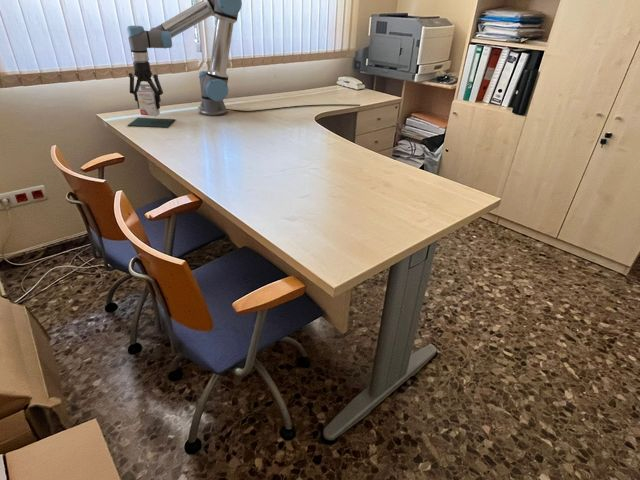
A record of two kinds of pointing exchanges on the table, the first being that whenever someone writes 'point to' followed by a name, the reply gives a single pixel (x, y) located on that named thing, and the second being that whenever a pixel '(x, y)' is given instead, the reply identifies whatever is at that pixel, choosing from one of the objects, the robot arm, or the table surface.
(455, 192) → the table surface
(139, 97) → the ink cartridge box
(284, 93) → the table surface
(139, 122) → the desk mat
